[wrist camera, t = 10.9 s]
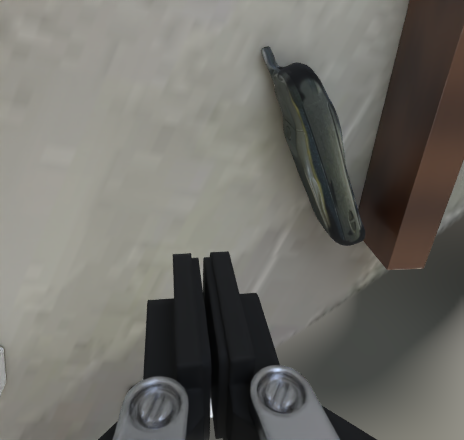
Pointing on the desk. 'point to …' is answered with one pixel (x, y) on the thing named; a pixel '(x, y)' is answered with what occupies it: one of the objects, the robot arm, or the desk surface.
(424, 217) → the wooden block
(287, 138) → the mobile phone
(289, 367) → the robot arm
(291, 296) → the desk surface
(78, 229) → the desk surface
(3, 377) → the jar
